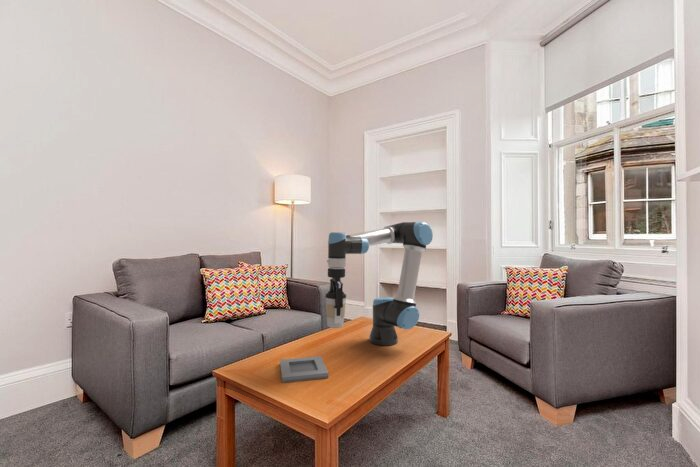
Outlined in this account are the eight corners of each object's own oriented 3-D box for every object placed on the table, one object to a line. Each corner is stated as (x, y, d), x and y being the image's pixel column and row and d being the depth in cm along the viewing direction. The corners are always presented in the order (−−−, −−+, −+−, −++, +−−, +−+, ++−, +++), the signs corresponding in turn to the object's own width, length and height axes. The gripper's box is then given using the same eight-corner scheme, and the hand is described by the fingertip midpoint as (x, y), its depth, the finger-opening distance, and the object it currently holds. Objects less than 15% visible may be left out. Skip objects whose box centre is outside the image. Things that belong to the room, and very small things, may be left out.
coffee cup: (343, 329, 137) (344, 293, 137) (322, 327, 139) (323, 292, 139) (347, 323, 146) (348, 290, 146) (327, 322, 148) (328, 288, 148)
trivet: (320, 360, 149) (320, 356, 149) (328, 377, 132) (328, 372, 132) (280, 364, 145) (280, 359, 144) (282, 382, 127) (282, 377, 127)
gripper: (323, 265, 152) (322, 314, 152) (333, 270, 132) (331, 327, 131) (339, 265, 154) (338, 314, 154) (351, 270, 133) (350, 326, 133)
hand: (335, 320), depth 143 cm, fingers closed on coffee cup, 8 cm apart
